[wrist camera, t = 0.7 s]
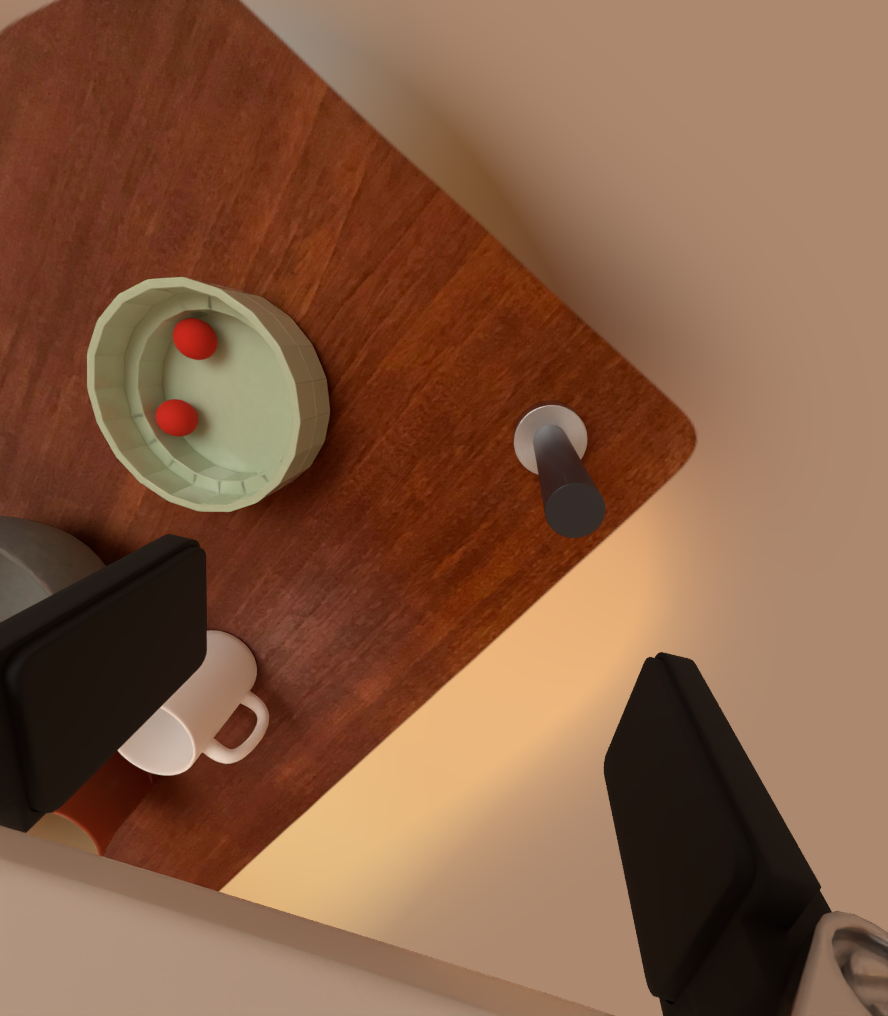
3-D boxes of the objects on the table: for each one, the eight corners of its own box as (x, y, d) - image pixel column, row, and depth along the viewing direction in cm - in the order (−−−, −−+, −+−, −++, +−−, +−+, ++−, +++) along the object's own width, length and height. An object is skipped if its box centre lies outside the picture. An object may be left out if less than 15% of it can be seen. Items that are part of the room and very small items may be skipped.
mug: (185, 759, 54) (113, 848, 44) (154, 794, 57) (80, 884, 47) (100, 698, 52) (7, 776, 43) (73, 737, 55) (-19, 818, 46)
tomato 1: (214, 313, 35) (188, 310, 32) (232, 351, 36) (208, 351, 33) (184, 327, 36) (155, 325, 33) (202, 364, 37) (176, 366, 34)
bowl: (6, 451, 43) (-136, 479, 34) (196, 556, 44) (109, 612, 34) (-17, 605, 50) (-139, 663, 41) (146, 693, 51) (63, 770, 42)
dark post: (572, 391, 34) (625, 431, 17) (590, 456, 35) (654, 551, 19) (505, 413, 35) (495, 471, 19) (524, 476, 36) (531, 580, 20)
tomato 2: (195, 392, 38) (169, 395, 35) (212, 426, 38) (188, 432, 36) (167, 404, 38) (139, 408, 36) (184, 437, 39) (158, 444, 36)
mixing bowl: (279, 254, 34) (231, 235, 28) (362, 458, 38) (335, 476, 32) (115, 334, 38) (44, 331, 32) (207, 510, 42) (159, 535, 36)
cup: (201, 613, 46) (119, 682, 36) (303, 674, 47) (248, 757, 37) (176, 666, 49) (94, 742, 39) (272, 723, 50) (214, 811, 40)
